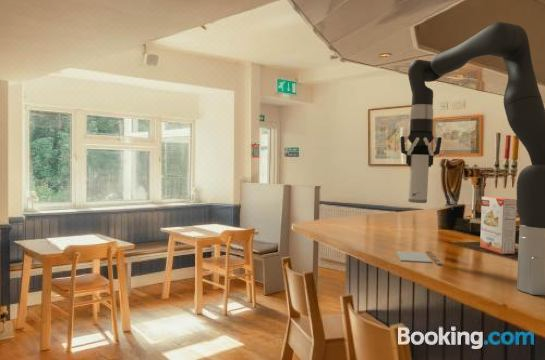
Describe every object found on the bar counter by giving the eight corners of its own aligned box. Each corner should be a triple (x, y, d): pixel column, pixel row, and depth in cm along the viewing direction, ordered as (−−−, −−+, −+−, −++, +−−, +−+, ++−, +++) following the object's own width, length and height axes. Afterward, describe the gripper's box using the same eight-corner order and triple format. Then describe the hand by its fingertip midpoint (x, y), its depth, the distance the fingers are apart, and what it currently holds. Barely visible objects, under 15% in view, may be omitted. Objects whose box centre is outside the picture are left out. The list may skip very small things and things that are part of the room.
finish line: (442, 265, 149) (442, 263, 149) (437, 265, 149) (437, 263, 149) (430, 252, 171) (430, 251, 171) (426, 252, 171) (426, 250, 171)
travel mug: (415, 203, 157) (417, 144, 156) (404, 201, 163) (407, 145, 162) (431, 203, 158) (433, 145, 157) (420, 201, 165) (422, 145, 164)
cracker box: (478, 247, 185) (481, 195, 184) (492, 247, 186) (494, 196, 185) (500, 254, 171) (503, 198, 170) (515, 254, 172) (517, 198, 171)
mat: (431, 262, 153) (431, 261, 152) (400, 261, 154) (400, 259, 154) (424, 253, 168) (424, 252, 168) (396, 252, 170) (396, 251, 170)
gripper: (401, 117, 157) (399, 165, 158) (445, 117, 154) (442, 167, 155) (399, 119, 164) (397, 165, 165) (441, 119, 162) (438, 167, 162)
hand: (419, 166), depth 160 cm, fingers closed on travel mug, 6 cm apart
